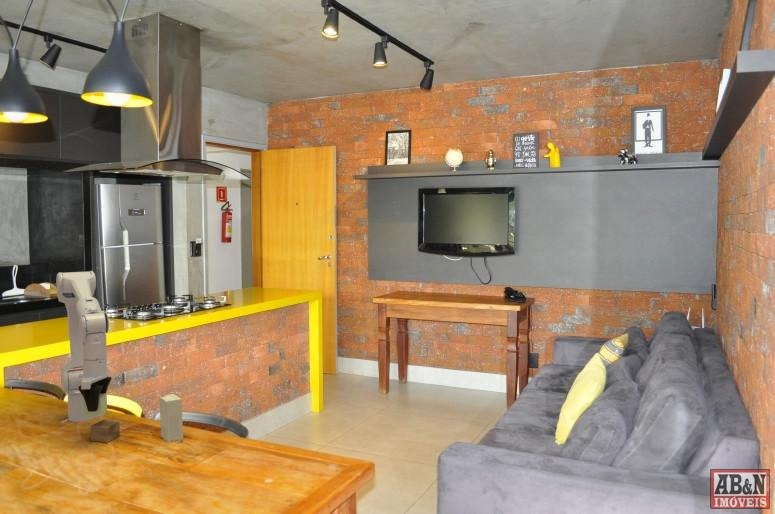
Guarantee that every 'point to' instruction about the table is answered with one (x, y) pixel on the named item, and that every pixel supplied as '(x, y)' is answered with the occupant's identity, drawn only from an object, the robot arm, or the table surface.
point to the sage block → (101, 407)
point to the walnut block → (105, 431)
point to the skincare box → (171, 418)
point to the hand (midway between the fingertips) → (96, 407)
